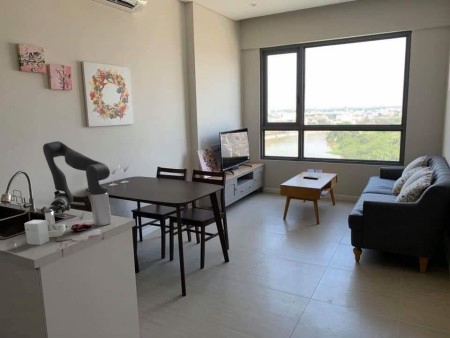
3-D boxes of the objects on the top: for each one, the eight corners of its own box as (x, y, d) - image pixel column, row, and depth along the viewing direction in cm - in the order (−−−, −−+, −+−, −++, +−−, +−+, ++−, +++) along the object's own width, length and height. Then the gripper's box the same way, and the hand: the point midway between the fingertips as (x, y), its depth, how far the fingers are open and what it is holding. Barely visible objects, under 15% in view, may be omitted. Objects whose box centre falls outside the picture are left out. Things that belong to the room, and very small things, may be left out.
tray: (65, 229, 183) (64, 223, 182) (62, 235, 172) (61, 230, 172) (43, 232, 180) (42, 226, 179) (37, 239, 169) (37, 233, 169)
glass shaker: (57, 230, 178) (53, 208, 176) (55, 233, 175) (52, 210, 173) (48, 231, 177) (45, 209, 175) (46, 234, 174) (43, 211, 172)
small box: (49, 241, 166) (46, 220, 164) (40, 245, 161) (37, 223, 159) (36, 240, 168) (33, 219, 167) (27, 244, 163) (23, 223, 161)
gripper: (44, 200, 196) (37, 207, 181) (71, 197, 200) (67, 203, 185) (46, 212, 197) (39, 220, 182) (73, 209, 201) (68, 217, 186)
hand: (53, 212), depth 183 cm, fingers open, 8 cm apart
